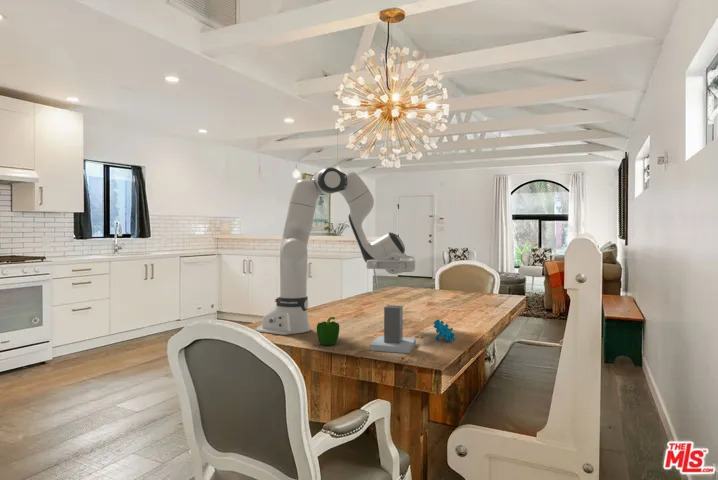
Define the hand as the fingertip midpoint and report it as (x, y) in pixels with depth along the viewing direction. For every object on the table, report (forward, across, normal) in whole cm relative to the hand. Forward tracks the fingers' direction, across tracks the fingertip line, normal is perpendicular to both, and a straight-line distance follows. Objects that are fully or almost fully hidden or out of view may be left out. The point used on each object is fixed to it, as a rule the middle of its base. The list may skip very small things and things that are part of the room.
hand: (387, 265), depth 179 cm
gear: (0, +23, +28) cm, 36 cm away
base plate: (+16, +6, +28) cm, 33 cm away
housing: (+16, +6, +26) cm, 31 cm away
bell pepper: (+19, -18, +28) cm, 39 cm away
